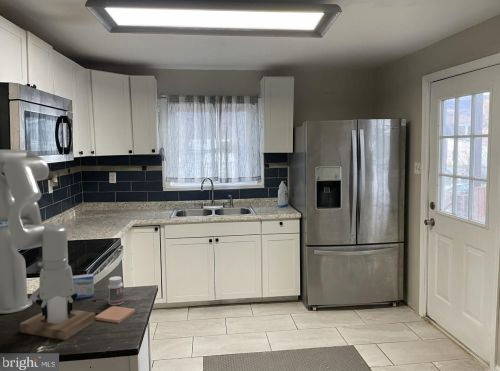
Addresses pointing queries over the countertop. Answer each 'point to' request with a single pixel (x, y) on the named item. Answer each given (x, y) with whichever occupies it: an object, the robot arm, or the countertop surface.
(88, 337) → the countertop surface
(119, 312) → the tile
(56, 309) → the can
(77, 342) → the countertop surface
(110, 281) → the pill bottle
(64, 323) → the well board
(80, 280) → the medicine box
